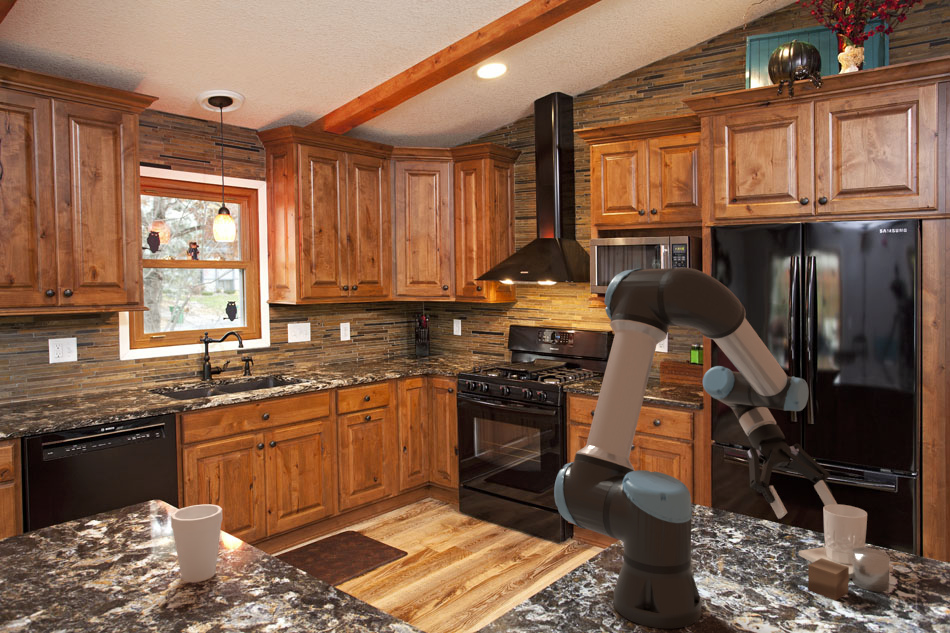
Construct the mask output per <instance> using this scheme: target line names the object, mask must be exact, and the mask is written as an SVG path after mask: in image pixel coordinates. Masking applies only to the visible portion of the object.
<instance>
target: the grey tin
mask: <svg viewBox="0 0 950 633" xmlns="http://www.w3.org/2000/svg"><path fill="white" fill-rule="evenodd" d="M890 560H891V559H890V555H889V554H888V553H886V552H884V551H882V550H879V549H875V548H870V547H865V548H855V549H854V550H853V574H852V578H851V579H852V581H851V582H852V583H853V585H855V586H856V587H858V588H861V589H863V590H865V591H870V592H878V593H879V592H880V593H882V592H887V591H889V589H890V572H889V565H890V562H891V561H890Z"/></svg>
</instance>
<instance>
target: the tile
mask: <svg viewBox="0 0 950 633" xmlns="http://www.w3.org/2000/svg"><path fill="white" fill-rule="evenodd" d="M798 556H800V557H801V558H802V559H805V560H807V561H808V562H810V563H813V562H815V561H817V560H819V559H821V558H823V559H826V560H829V561H832V562H835V563H838V562H836V561H833V560H831V559H829V558H828V557H827V556H826V547H825V546H824V547H823V546H822V547H816V548H809V549H802V550H798ZM838 564H841V565H844V566H847V567H849V580H850V579H852V574H853V565H851V564H843V563H838ZM893 572H894V566H892V565H891V564H889V573H893Z"/></svg>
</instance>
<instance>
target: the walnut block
mask: <svg viewBox="0 0 950 633" xmlns="http://www.w3.org/2000/svg"><path fill="white" fill-rule="evenodd" d="M807 571H808V572H807V573H808V576H807V581H808V582H807V585H808V586H807V591H808V592H811V593H814V594H817V595H820V596H822V597H825V598H827V599H831V600H833V601H835V602H836V601H837V600H839V599H840V598H842V597H844V596H845V595H847V594H849V580H850V579H849V567H847V566H844V565H841V564H838V563H835V562H832V561H829V560H826V559H823V558H821V559H819V560H817V561H815V562H813V563H812V562H810V563H809V564H808V570H807Z"/></svg>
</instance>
